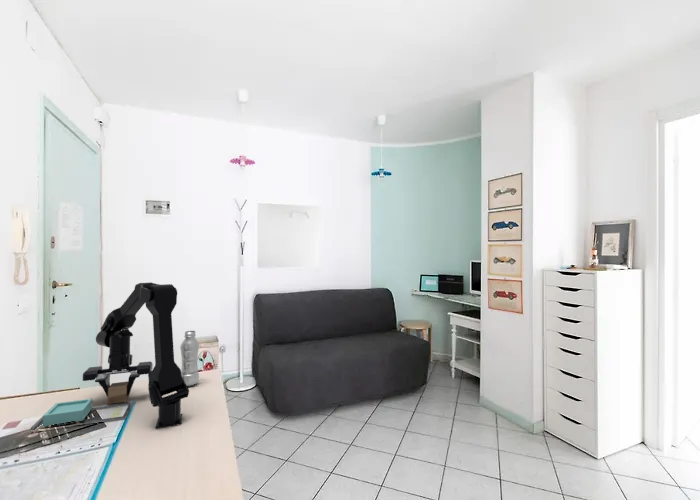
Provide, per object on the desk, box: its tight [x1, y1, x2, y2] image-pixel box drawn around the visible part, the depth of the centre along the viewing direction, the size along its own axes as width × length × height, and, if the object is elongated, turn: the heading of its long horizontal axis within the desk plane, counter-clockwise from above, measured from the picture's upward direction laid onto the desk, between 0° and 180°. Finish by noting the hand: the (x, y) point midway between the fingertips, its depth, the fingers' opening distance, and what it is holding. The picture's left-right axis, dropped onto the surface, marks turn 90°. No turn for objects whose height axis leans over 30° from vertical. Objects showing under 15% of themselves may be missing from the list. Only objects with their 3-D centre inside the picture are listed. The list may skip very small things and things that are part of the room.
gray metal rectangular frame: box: [30, 401, 134, 431], centre depth 102 cm, size 12×22×2 cm, turn 113°
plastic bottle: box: [180, 330, 200, 387], centre depth 129 cm, size 6×7×20 cm
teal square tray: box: [42, 398, 93, 427], centre depth 101 cm, size 9×9×4 cm
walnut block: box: [107, 380, 130, 405], centre depth 114 cm, size 5×5×5 cm
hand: (118, 396), depth 114 cm, fingers closed on walnut block, 5 cm apart
